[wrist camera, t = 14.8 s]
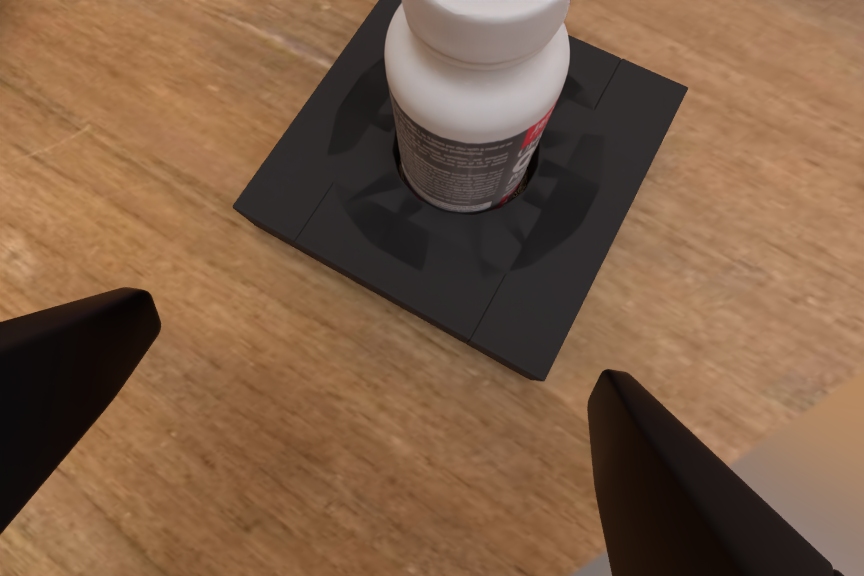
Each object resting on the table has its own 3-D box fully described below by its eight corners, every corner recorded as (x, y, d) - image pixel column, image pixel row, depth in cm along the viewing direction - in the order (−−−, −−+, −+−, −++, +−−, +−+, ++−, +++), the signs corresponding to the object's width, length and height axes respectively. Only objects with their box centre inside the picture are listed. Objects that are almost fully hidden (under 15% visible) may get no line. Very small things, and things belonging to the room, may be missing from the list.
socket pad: (662, 117, 18) (689, 87, 16) (530, 380, 16) (544, 382, 14) (408, 2, 20) (405, -39, 18) (254, 225, 17) (231, 206, 15)
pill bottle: (522, 226, 17) (631, 46, 8) (403, 228, 17) (361, 52, 8) (516, 120, 18) (602, -155, 9) (404, 122, 18) (367, -148, 9)
